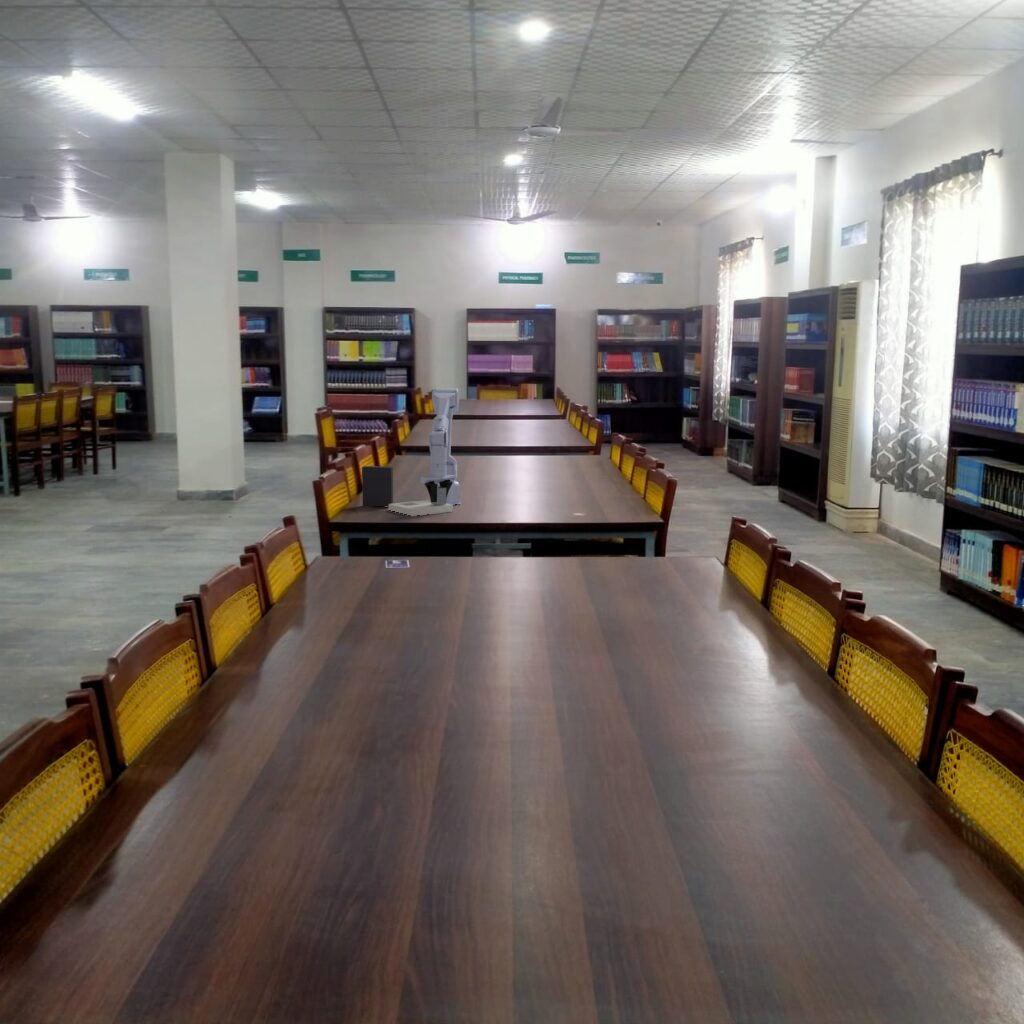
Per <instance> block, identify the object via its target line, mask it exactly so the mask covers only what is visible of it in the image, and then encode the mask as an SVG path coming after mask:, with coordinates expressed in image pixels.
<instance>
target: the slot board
mask: <svg viewBox="0 0 1024 1024" xmlns="http://www.w3.org/2000/svg"><path fill="white" fill-rule="evenodd" d="M389 510H391V511H390V512H392V511H395V512H394V513H396V512H399V513H398V514H400V513H403V514H402V515H404V514H407V515H406V516H408V515H411V516H410V517H418V516H417V515H420V516H426V515H427V514H429V515H434V514H436V515H437V514H444V513H445V514H446V513H453V512H454V505H451V504H447V503H446V504H443V505H434V504H431V499H425V500H424V499H423V500H413V501H404V502H393V504H389V507H388V511H389Z"/></svg>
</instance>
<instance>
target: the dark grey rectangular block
mask: <svg viewBox="0 0 1024 1024" xmlns="http://www.w3.org/2000/svg"><path fill="white" fill-rule="evenodd" d="M361 479H362V484H361V485H362V487H361V488H362V507H363V506H388V507H387V508H389V504H393V503H394V468H393V466H390V465H389V466H387V465H386V466H383V465H379V466H378V465H364V466H362V467H361Z"/></svg>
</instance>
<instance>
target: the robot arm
mask: <svg viewBox="0 0 1024 1024" xmlns="http://www.w3.org/2000/svg"><path fill="white" fill-rule="evenodd" d="M431 402H432V406H433V409H434V412H436V416H435V417H434V418H433V420H432V427H431V432H429V435H428V443H429V444H428V445H429V452H430V469H429V470H430V472H429V473H430V474H429V475H428V476H423V477H420V482H419V483H420V484H424V486H425V487H426V489H427V491H428V494H429V498H430V499H429V500H431V502H436V491H437V487H445V488H446V503H447V504H451V505H453V506H455V504H457V505H462V502H461V485H460V483H459V482H458V481H457V479H458V462H457V460H456V458H454V457H453V456H452V455H451V452H452V451H451V450H452V449H451V447H452V446H451V445H452V424H453V423H452V422H453V418H454V417H453V416H454V414H455V413H457V412H459V408H460V407H459V404H460V403H459V402H460V390H459V388H457V387H455V388H446V387H445V388H441V387H440V388H437V387H434V388H433V389H432V391H431Z"/></svg>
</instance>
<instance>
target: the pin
mask: <svg viewBox="0 0 1024 1024" xmlns="http://www.w3.org/2000/svg"><path fill="white" fill-rule="evenodd" d="M431 504H434V505H443V504H446V488H445V487H437V491H436V502H431Z"/></svg>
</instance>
